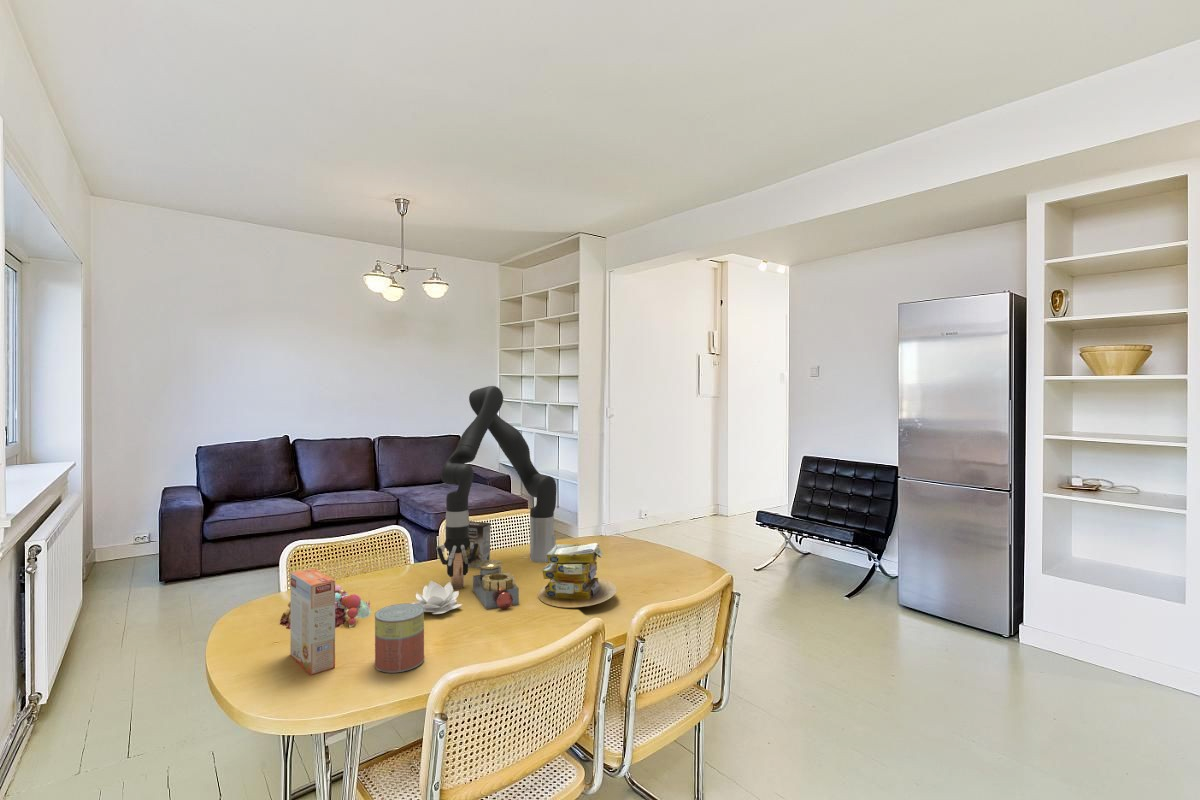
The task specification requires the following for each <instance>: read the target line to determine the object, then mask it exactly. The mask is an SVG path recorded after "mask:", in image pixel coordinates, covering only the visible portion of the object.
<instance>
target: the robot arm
mask: <svg viewBox="0 0 1200 800" xmlns="http://www.w3.org/2000/svg"><path fill="white" fill-rule="evenodd" d="M468 401H469V405H470V408H471V409H472V411H473V412H474V414H475V415H476V417H474V420H473V421H472V422H471V423H470V424H469V425H468V426H467V428H466V429H465V430H464V432H463V433H462V435H461V436H460V439H459V441H458V443H457V446H456V448H455V450H454V451H453V453H451V455H450V456H449V458H448V459H447V460H446V461H445V463H444V464H443V466H442V467H441V470H440V479H441V481H442V483H444V484H447V485H451V486H452V485H453V486H454V485H455V486H458V488H457V490H456V491H451V492H448V493H447V494H446V503H445V504H446V507H445V509H446V510H445V511H446V512H445V541H444V543H443V544H442V545H437V546H436V547H435V548H436V549H435V550H436V552H437V554H438V558H439V560H440V563H441V564H442V565H443V566H444V565H446V573H447V575H448V576H449V577H450V578H451V577H452V565H451V564H452V560H453V558H454V554H455V553H460V552H462V554H463V559H464V576H466V575H467V574H468V572H469V567H468V563H469V562H471V561H473V560H474V557H475V554H476V551H477V548H478V544H477V543H476V542H474V543H473V542H470V540H469V521H470V515H469V495H470V490H471V487H472V483H473V481H474V480H473V479H474V475H475V474H474V469H473V467H472V465H470V464H468V463H471V462H473V461H474V460H475V458H476V456H477V454H478V451H479V449H480V447H481V443H482V441H483V439H484V437H485V434H486V433H487V431H489V433H490V435H492V437H493V438H494V439H495V441H496V442H497V444H498V446H499V447H500V449H501V451H502V452H503V454H504V455H505V457H506V458H507V459H508V461H509V462H510V464H511V466H512V467H513V468H514V470H515V471H516V473H517V474H518V477H519V478H520V480H521V483H522V484H523V487H524V489H525V490H526V492H527V493H528V494H529V495H530V497H533V498H536V504H535V506H533V507H531V508H530V511H529V543H530V544H529V549H530V550H529V555H530V556H529V559H530V561H531V560H532V562H534V563H542V562H543V563H548V558H547V554H548V552H549V551H550V550H551V549H552V548H553V547H554V546H555V545H557V544H556V540H557V539H556V538H557V537H556V535H555V534H554V533H555V531H554V530H555V529H554V528H555V523H554V522H555V521H554V519H555V517H554V515H555V509H556V507H557V505H556V504H557V491H558V490H557V483H556V480H555V478H554V477H552V476H551V475H547V474H546V475H545V474H541V473H540V472H539V471H538V470H537V469H536V467H535V466H534V464H533V462H532V460H531V453H530V446H529V445H528V443H527V441H526V439H525V438H524V436H523V435H522V432H520V430H518V429H517V428H516V427H515V426H513V425H512V424H510V423H509V422H507V421H505V420H504V419H503V418H501V416H499V415H498V413H499V411H500V409H501V408H502V406H503V403H504V394H503V392H502V390H501V389H500V388H499V387H498V386H495V385H488V386H484V387H481V388H477V389H474V390H472V391H470V393H469V396H468ZM469 545H470V548H471V552H470V555H469V557H468V558H467V554H466V550H467V548H468V547H469ZM445 549H446V551H448V554H447V559H445V556H444V552H445Z"/></svg>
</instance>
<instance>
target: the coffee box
mask: <svg viewBox="0 0 1200 800" xmlns="http://www.w3.org/2000/svg"><path fill="white" fill-rule="evenodd" d="M469 540H470V542H473V543H474V542H476V543H477V544H478V548H477V551H476V554H475V557H474V560H473V561H471V562H469V563H468V568H470V569H471V568H472V569H478V570H479V569H480V567H479V563H480V562H483V561H488V560H491V522H485V521H484V522H483V521H472V520H471V521H470V520H469ZM470 552H471V548H470V545H469V547H468V548H467V550H466V554H467V558H468V557H469V555H470Z"/></svg>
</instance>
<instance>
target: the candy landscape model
mask: <svg viewBox="0 0 1200 800" xmlns="http://www.w3.org/2000/svg"><path fill="white" fill-rule="evenodd" d="M348 594H349V593H347V592H346V591H345V590H344V589H342V586H341V585H336V584H335V628H340V627H341V625H342V624H344V623H345V622H346V621H347V618H349V619H348V623H347V624H348V628H349V629H351V628H353V627H354V626H355V623H356V621H357V619H365V618H369V617H370V616H371V613H372V609H371V608H370V607H371V606H370V605H371V603H370V600H368V602H367V601H366V602H365V601H364V600H363V599H362V598H361V597H360V596H359V595H358V594H350V595H348ZM287 606H288V607H289V608H288V609H286V610H285V611H284V612H283V614H281V617H280V623H279V624H280V625H281V626H282V627H285V629H287V630H291V600H290V601H289V602H288V604H287ZM356 618H357V619H356Z"/></svg>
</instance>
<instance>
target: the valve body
mask: <svg viewBox="0 0 1200 800" xmlns="http://www.w3.org/2000/svg"><path fill="white" fill-rule="evenodd" d="M479 567H480V570H479V571H480V574H476V575H472V592H473V594H474V595H475V596H476V597H477V599H478V601H479V602H480V603H481V604H482V605H483V607H484V608H485V610H489V609H496V608H499V609H500V610H501V609H502V610H507V609H509V608H510V607H511V606H514V605H515V606H517V605H519V602H520V601H519V598H520V597H519V596H520V595H519V593H520V592H519V587H518V585H516V583H515V575H514V574H512V573H509V572H504V571H502V567H503V562H502V561H501V560H496V559H490V560H488V561H483V562H480V563H479Z"/></svg>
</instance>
